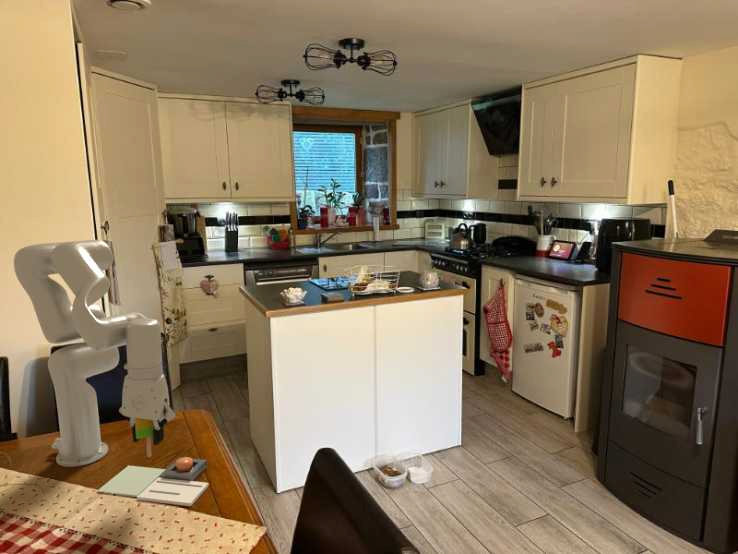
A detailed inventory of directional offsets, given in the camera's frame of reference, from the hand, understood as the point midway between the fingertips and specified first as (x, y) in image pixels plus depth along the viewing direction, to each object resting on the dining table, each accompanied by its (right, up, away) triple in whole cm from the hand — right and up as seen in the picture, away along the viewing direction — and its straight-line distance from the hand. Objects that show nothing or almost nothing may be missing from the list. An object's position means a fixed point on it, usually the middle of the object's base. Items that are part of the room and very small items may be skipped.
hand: (148, 440), depth 125 cm
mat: (-6, -12, +5) cm, 14 cm away
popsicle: (0, -5, +1) cm, 5 cm away
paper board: (+6, -13, 0) cm, 14 cm away
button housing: (+6, -11, +8) cm, 15 cm away
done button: (+6, -10, +8) cm, 14 cm away
